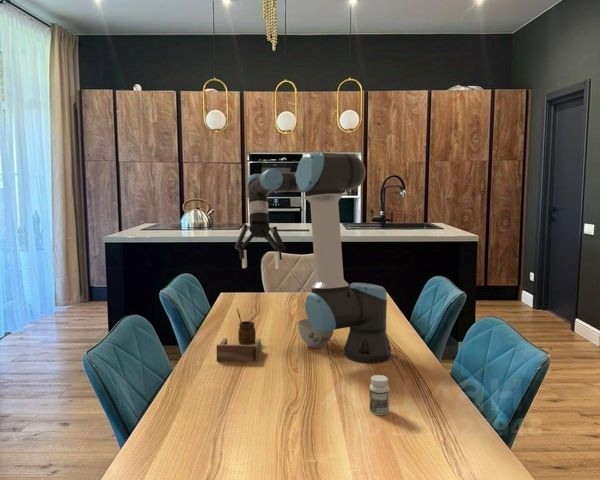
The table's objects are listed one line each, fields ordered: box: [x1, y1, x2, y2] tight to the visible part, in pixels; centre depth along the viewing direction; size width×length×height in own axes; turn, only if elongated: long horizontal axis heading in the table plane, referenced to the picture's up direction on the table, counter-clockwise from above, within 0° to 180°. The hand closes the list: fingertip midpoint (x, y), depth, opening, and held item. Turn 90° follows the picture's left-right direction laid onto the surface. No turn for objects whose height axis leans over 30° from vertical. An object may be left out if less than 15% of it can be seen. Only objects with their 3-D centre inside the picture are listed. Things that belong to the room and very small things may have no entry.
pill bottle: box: [369, 374, 390, 416], centre depth 123 cm, size 5×5×8 cm
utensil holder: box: [236, 308, 257, 345], centre depth 177 cm, size 6×6×12 cm
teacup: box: [297, 318, 335, 349], centre depth 175 cm, size 15×12×8 cm
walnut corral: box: [216, 338, 262, 363], centre depth 163 cm, size 11×12×5 cm
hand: (261, 268), depth 192 cm, fingers open, 13 cm apart
